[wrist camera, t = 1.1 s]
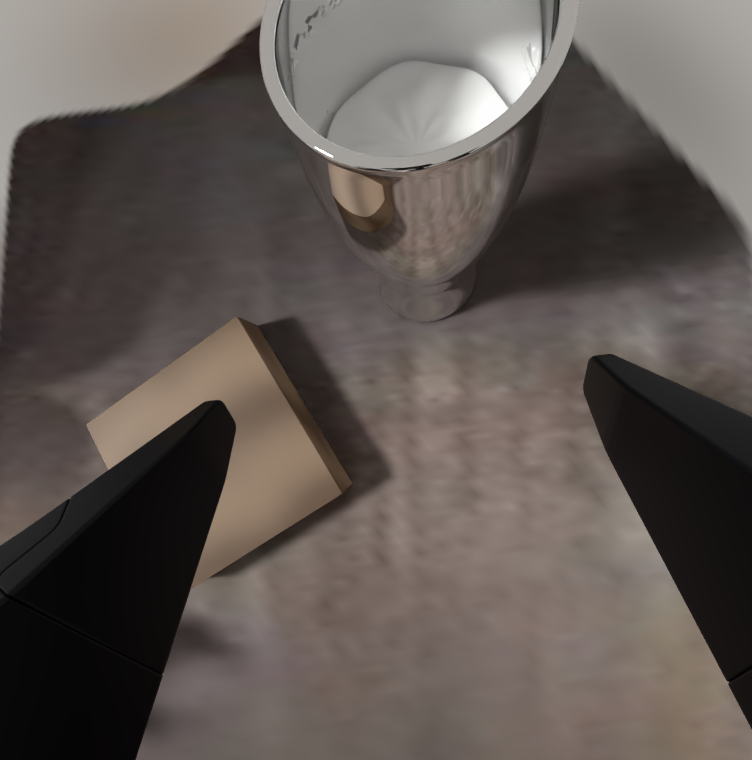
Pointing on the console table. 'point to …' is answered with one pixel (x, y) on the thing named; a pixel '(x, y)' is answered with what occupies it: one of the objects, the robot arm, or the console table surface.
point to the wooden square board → (235, 439)
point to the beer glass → (416, 126)
